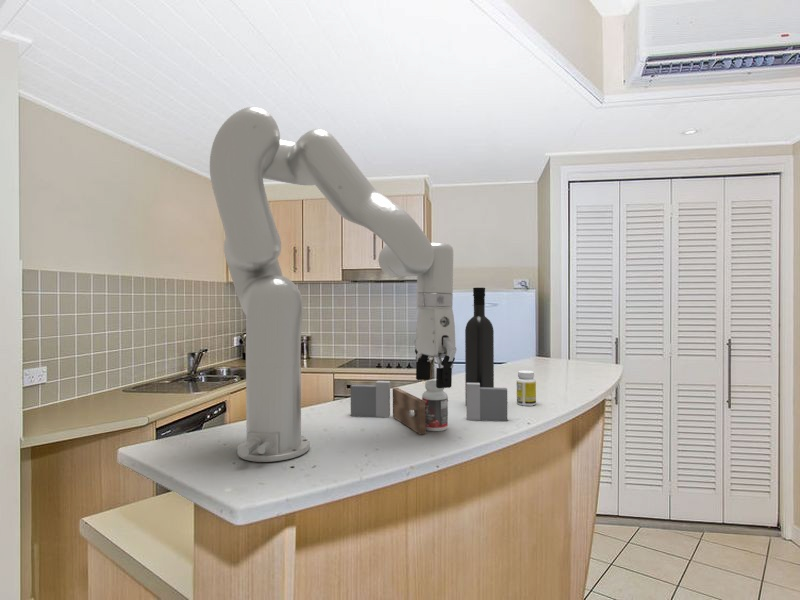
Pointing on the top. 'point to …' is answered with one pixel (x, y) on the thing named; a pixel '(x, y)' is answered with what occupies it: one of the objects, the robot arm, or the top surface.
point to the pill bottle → (435, 407)
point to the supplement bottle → (526, 388)
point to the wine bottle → (479, 345)
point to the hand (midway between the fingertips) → (432, 383)
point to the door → (409, 410)
